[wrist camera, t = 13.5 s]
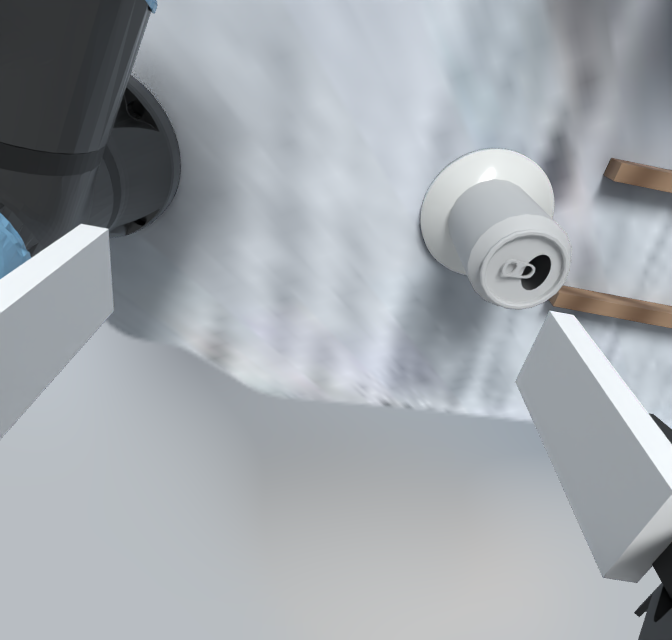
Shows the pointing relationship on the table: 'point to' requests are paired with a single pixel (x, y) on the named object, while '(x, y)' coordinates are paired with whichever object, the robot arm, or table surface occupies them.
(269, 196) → the table surface
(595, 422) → the robot arm
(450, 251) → the white glossy ellipsoid
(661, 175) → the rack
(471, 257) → the can
